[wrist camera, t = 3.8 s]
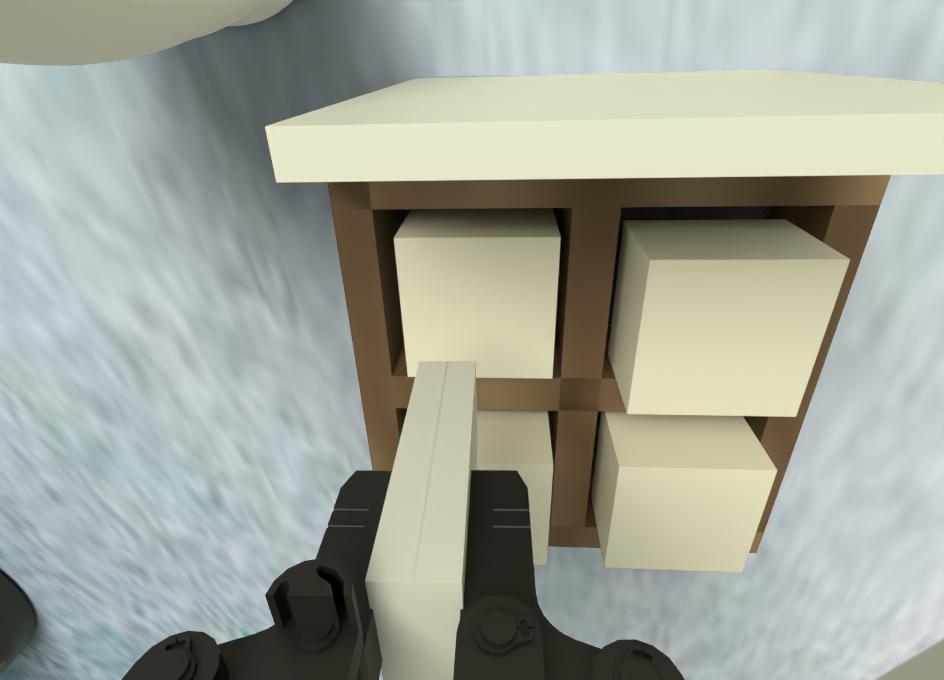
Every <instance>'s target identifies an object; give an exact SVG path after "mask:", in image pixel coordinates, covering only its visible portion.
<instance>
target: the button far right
mask: <svg viewBox="0 0 944 680" xmlns="http://www.w3.org/2000/svg"><path fill="white" fill-rule="evenodd" d="M776 473H777V469H776V467H775V466H774V464H773V462H772V461H771V459H770V458H769V456H768V455H767V453H766V451H765V450H764V448H763V447H762V445H761V444H760V442H759V440H758V439H757V437H756V436H755V434H754V433H753V431H752V430H751V428H750V426H749V425H748V423H747V422H746V420H745V419H744V417H743V416H716V415H656V414H627V412H604V411H601V417H600V425H599V434H598V442H597V451H596V459H595V468H594V476H593V485H592V493H591V498H592V503H593V509H594V514H595V520H596V525H597V531H598V536H599V541H600V547H601V552H602V558H603V563H604V568H631V569H659V570H687V571H715V572H743V569H744V566H745V563H746V560H747V557H748V554H749V551H750V549H751V546H752V543H753V540H754V537H755V534H756V531H757V528H758V525H759V522H760V520H761V517H762V514H763V511H764V508H765V505H766V502H767V499H768V496H769V494H770V491H771V488H772V485H773V482H774V479H775V476H776Z"/></svg>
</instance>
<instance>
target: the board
mask: <svg viewBox="0 0 944 680" xmlns="http://www.w3.org/2000/svg"><path fill="white" fill-rule="evenodd" d="M890 176H891V175H837V176H757V177H678V178H598V179H518V180H438V181H358V182H328V188H329V195H330V201H331V207H332V214H333V220H334V227H335V233H336V239H337V246H338V252H339V259H340V265H341V271H342V278H343V284H344V290H345V297H346V303H347V310H348V316H349V322H350V329H351V335H352V341H353V348H354V354H355V361H356V367H357V373H358V380H359V386H360V392H361V399H362V405H363V412H364V418H365V424H366V431H367V437H368V443H369V450H370V456H371V463H372V469H373V471H392V470H393V465H394V461H395V457H396V453H397V449H398V445H399V441H400V437H401V433H402V429H403V425H404V421H405V417H406V413H407V409H408V405H409V401H410V396H411V392H412V388H413V384H414V380H415V377H408V374H407V364H406V354H405V344H404V334H403V325H402V315H401V305H400V295H399V285H398V275H397V266H396V256H395V246H394V237H395V235H396V233H397V232H398V230H399V228H400V218H399V209H486V208H559V222H558V229H559V233H560V236H561V241H560V258H559V274H558V291H557V308H556V325H555V342H554V359H553V376H552V379H543V378H476V391H477V409H482V410H543V411H548V420H549V429H550V438H551V448H552V457H553V478H552V493H551V508H550V523H549V538H548V546H559V547H589V548H601V547H600V541H599V536H598V531H597V525H596V520H595V514H594V509H593V503H592V498H591V493H592V485H593V476H594V468H595V463H592V458H593V450H594V441H595V432H596V423H597V415H598V411H604V412H626V409H625V406H624V403H623V400H622V397H621V394H620V390H619V387H618V384H617V381H616V378H615V375H614V372H613V369H612V366H611V363H610V360H609V357H608V349H609V341H610V332H611V327H608V318H609V310H610V301H611V292H612V283H613V275H614V266H615V257H616V248H617V240H618V231H619V222H620V213H621V207H710V206H767V208H766V212H765V216H764V220H767V219H786V220H787V221H789V222H791V223H792V224H794V225H795V226H797V227H799V228H800V229H802V230H804V231H805V232H807V233H808V234H810V235H812V236H813V237H815V238H816V239H818V240H820V241H821V242H823V243H825V244H826V245H828V246H829V247H831V248H833V249H834V250H836V251H838V252H839V253H841V254H842V255H844V256H846V257H847V258H849V259H850V262H849V265H848V268H847V271H846V273H845V276H844V279H843V282H842V285H841V288H840V291H839V294H838V297H837V300H836V302H835V305H834V308H833V311H832V314H831V317H830V320H829V323H828V326H827V329H826V331H825V334H824V337H823V340H822V343H821V346H820V349H819V352H818V355H817V357H816V360H815V363H814V366H813V369H812V372H811V375H810V378H809V381H808V384H807V386H806V389H805V392H804V395H803V398H802V401H801V404H800V407H799V410H798V412H797V415H796V417H776V416H743V417H744V419H745V420H746V422H747V423H748V425H749V426H750V428H751V430H752V431H753V433H754V434H755V436H756V437H757V439H758V440H759V442H760V444H761V445H762V447H763V448H764V450H765V451H766V453H767V455H768V456H769V458H770V459H771V461H772V462H773V464H774V466H775V467H776V469H777V473H776V476H775V479H774V482H773V485H772V488H771V491H770V494H769V496H768V499H767V502H766V505H765V508H764V511H763V514H762V517H761V520H760V522H759V525H758V528H757V531H756V534H755V537H754V540H753V543H752V546H751V549H750V551H749V553H757V550H758V547H759V544H760V542H761V539H762V536H763V533H764V530H765V528H766V525H767V522H768V519H769V516H770V514H771V511H772V508H773V505H774V502H775V499H776V497H777V494H778V491H779V488H780V485H781V483H782V480H783V477H784V474H785V471H786V469H787V466H788V463H789V460H790V457H791V454H792V452H793V449H794V446H795V443H796V440H797V438H798V435H799V432H800V429H801V426H802V424H803V421H804V418H805V415H806V412H807V410H808V407H809V404H810V401H811V398H812V395H813V393H814V390H815V387H816V384H817V381H818V379H819V376H820V373H821V370H822V367H823V365H824V362H825V359H826V356H827V353H828V350H829V348H830V345H831V342H832V339H833V336H834V334H835V331H836V328H837V325H838V322H839V320H840V317H841V314H842V311H843V308H844V306H845V303H846V300H847V297H848V294H849V291H850V289H851V286H852V283H853V280H854V277H855V275H856V272H857V269H858V266H859V263H860V261H861V258H862V255H863V252H864V249H865V247H866V244H867V241H868V238H869V235H870V232H871V230H872V227H873V224H874V221H875V218H876V216H877V213H878V210H879V207H880V204H881V202H882V199H883V196H884V193H885V190H886V187H887V185H888V182H889V179H890Z"/></svg>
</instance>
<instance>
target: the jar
mask: <svg viewBox="0 0 944 680" xmlns="http://www.w3.org/2000/svg"><path fill="white" fill-rule="evenodd" d="M292 1H293V0H0V63H9V64H24V65H85V64H97V63H106V62H114V61H120V60H126V59H131V58H136V57H141V56H145V55H149V54H152V53H156V52H159V51H162V50H165V49H168V48H171V47H174V46H176V45H179V44H181V43H184V42H186V41H188V40H191V39H195V38H199V37H202V36H205V35H208V34H211V33H213V32H216V31H218V30H221V29H223V28H225V27H227V26H242V25H248V24H253V23H257V22H260V21H262V20H265V19H267V18H269V17H271V16H273V15H275V14H277V13H278V12H280V11H281V10H282V9H284V8H285V7H286V6H288V5H289V4H290V3H291V2H292Z"/></svg>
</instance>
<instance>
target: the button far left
mask: <svg viewBox="0 0 944 680" xmlns="http://www.w3.org/2000/svg"><path fill="white" fill-rule="evenodd" d="M477 431H478V448H477V470H517V471H518V473H519V475H520V476H521V478H522V479H523V481H524V483H525V484H526V486H527V487H528V497H529V512H530V523H531V536H532V550H533V563H534V565H546V566H547V553H548V538H549V523H550V508H551V493H552V478H553V457H552V448H551V438H550V429H549V420H548V411H543V410H482V409H477Z"/></svg>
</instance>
